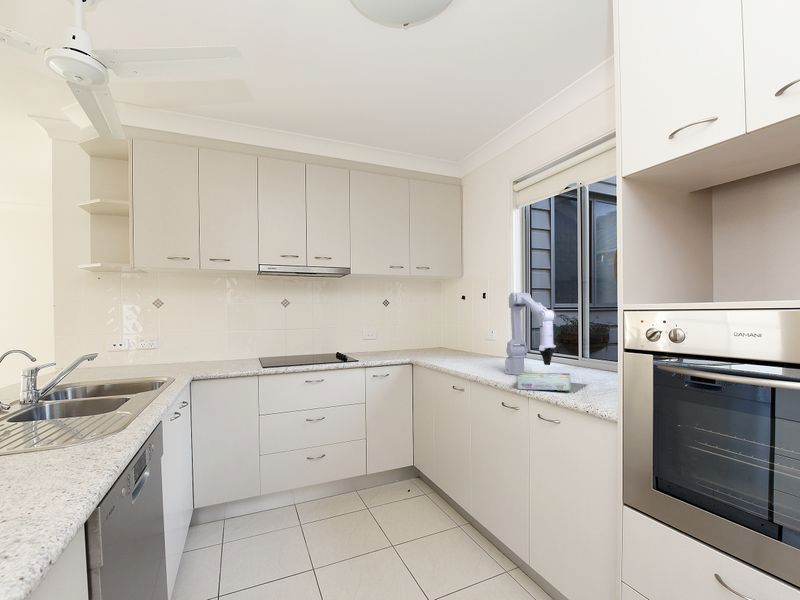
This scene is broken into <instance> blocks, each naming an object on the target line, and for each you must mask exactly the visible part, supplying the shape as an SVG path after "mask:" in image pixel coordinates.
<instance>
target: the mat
mask: <svg viewBox="0 0 800 600" xmlns="http://www.w3.org/2000/svg"><path fill="white" fill-rule="evenodd" d="M586 385H587V386H588V383H587V384H585V383H579V382H571V387H570V390H557V391H556V392H562V391H565V392H564V393H570V392H573V393H572V394H575V392H576V393H577V392H579V391H581V390H582V389H584V388H586V387H587V386H586ZM583 387H584V388H583ZM580 389H581V390H580Z"/></svg>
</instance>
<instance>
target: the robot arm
mask: <svg viewBox="0 0 800 600" xmlns="http://www.w3.org/2000/svg"><path fill="white" fill-rule="evenodd" d="M525 307H528V308H530V311H531V313H532V314H534V316H536V319H537V322H538V326H539V346H538V351H539V353H540V355H541V358H542V361H543V364H544V365H545V366H550V365H551V362H552V357H553V354H554V353H555V348H556V347H557V345H555V343H554V322H555V321H556V312H555V311H554V309H548V308H547V307H546V306H544V305H543V304H542V302H536V301H535V300H534V299H533V298H532V296H531V294H530V293H529V292H510V294H509V296H508V308H509V309H510V321H511V322H510V324H511V328H510V329H511V339H510V340H509V341H508V342H507V344H506V355H507V356H506V358H505V360H504V362H505V363H504V368H505V369H504V371H505V372H504V374H506V375H507V374H508V375H514V376H515V375H516V376H519V375H520V374H521V373H528V372H525V358H526V356H527V355H528V352H529V351H528V347H527V342H526V341H525V340H523V338H522V336H523V335H522V315H521V313H522V310H523V309H524V308H525Z"/></svg>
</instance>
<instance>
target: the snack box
mask: <svg viewBox="0 0 800 600" xmlns="http://www.w3.org/2000/svg"><path fill="white" fill-rule="evenodd" d="M571 383H572V382H571V374H570V373H569V372H568V373H563V372H562V373H561V372H560V373H559V372H556V373H555V372H554V373H553V372H527V373H521V374H520V375H517V376H516V387H517V390H535V391H536V390H537V391H538V390H539V391H540V390H541V391H548V390H549V391H554V390H570V387H571Z"/></svg>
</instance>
